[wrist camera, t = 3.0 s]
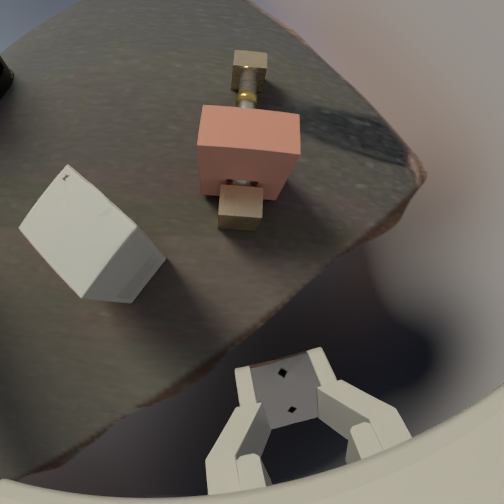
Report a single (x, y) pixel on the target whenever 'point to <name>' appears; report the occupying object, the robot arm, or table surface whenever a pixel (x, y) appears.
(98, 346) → the table surface
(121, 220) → the small box
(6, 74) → the french press
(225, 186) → the pipe rig
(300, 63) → the table surface
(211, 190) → the collar
